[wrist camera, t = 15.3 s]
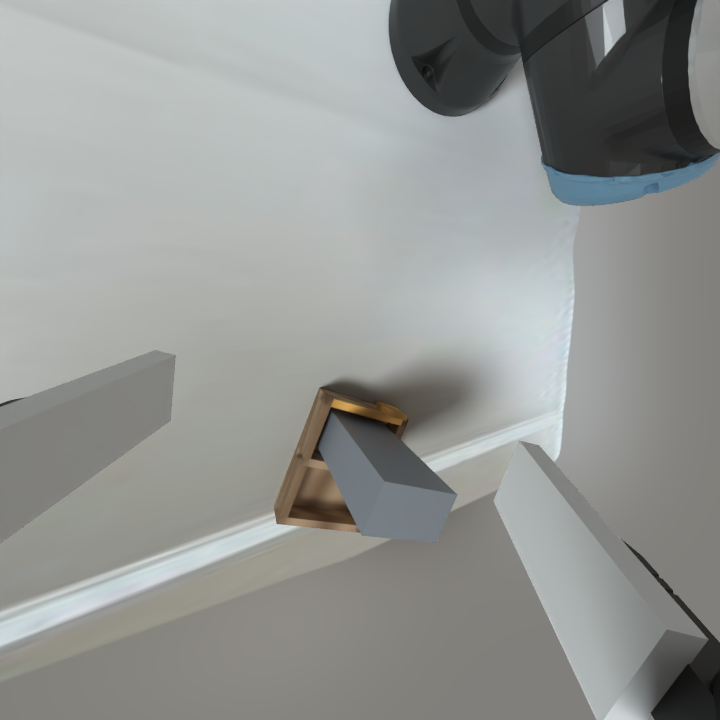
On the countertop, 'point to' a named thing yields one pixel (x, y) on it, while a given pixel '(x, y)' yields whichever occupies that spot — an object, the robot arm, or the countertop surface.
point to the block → (383, 479)
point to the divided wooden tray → (325, 466)
